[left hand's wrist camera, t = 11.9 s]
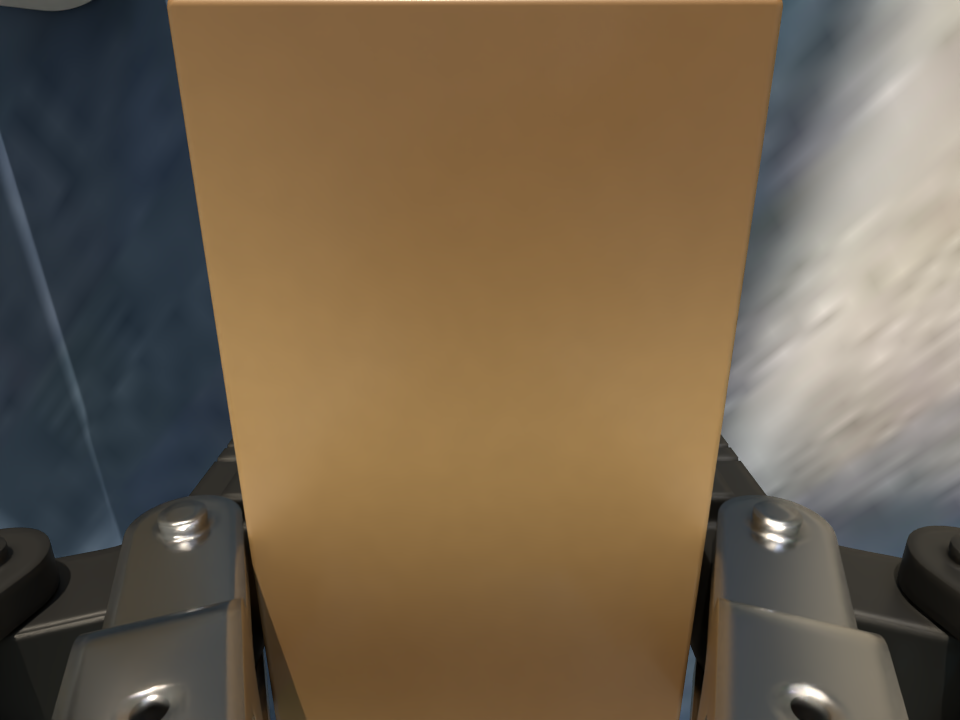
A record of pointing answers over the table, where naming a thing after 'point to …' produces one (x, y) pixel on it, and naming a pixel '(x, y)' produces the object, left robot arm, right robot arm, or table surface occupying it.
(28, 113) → the table surface
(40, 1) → the coffee cup
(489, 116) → the beam
